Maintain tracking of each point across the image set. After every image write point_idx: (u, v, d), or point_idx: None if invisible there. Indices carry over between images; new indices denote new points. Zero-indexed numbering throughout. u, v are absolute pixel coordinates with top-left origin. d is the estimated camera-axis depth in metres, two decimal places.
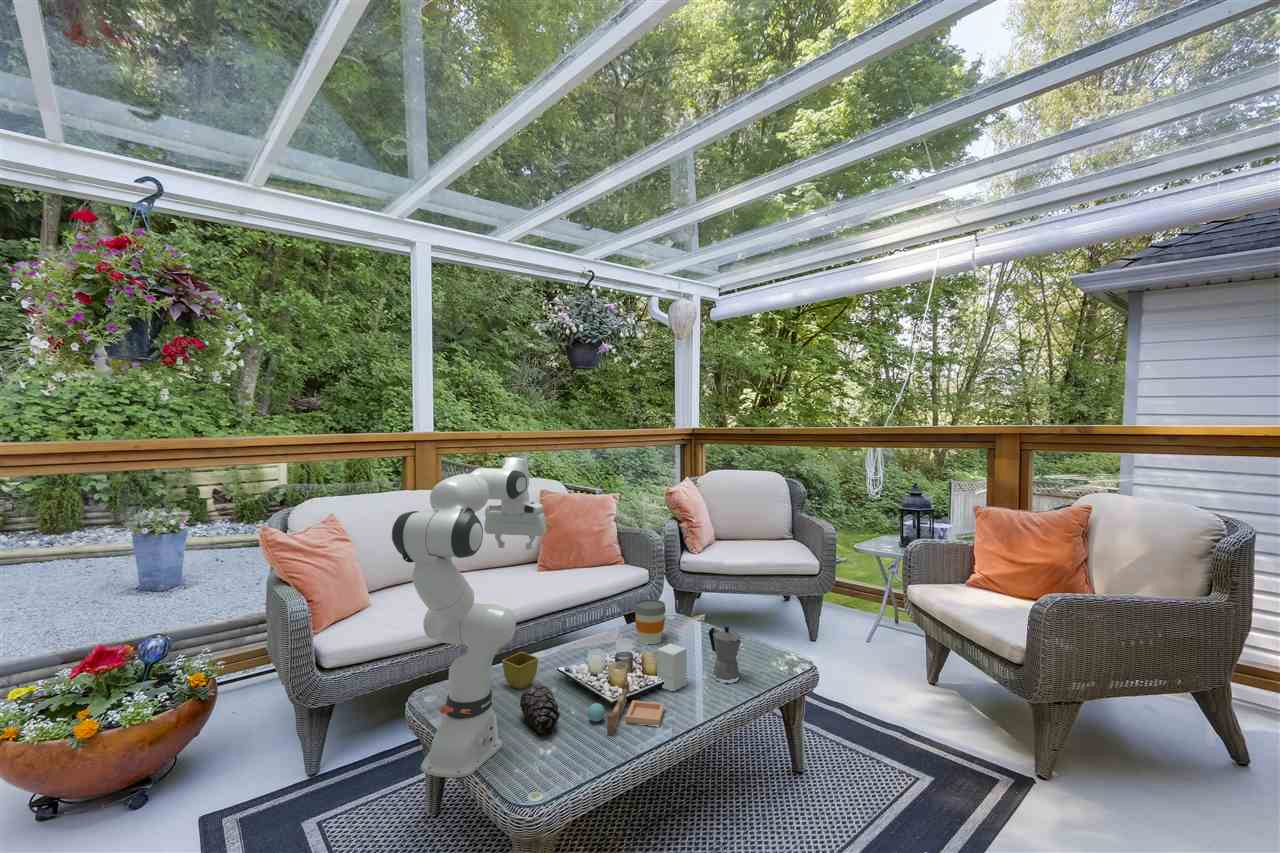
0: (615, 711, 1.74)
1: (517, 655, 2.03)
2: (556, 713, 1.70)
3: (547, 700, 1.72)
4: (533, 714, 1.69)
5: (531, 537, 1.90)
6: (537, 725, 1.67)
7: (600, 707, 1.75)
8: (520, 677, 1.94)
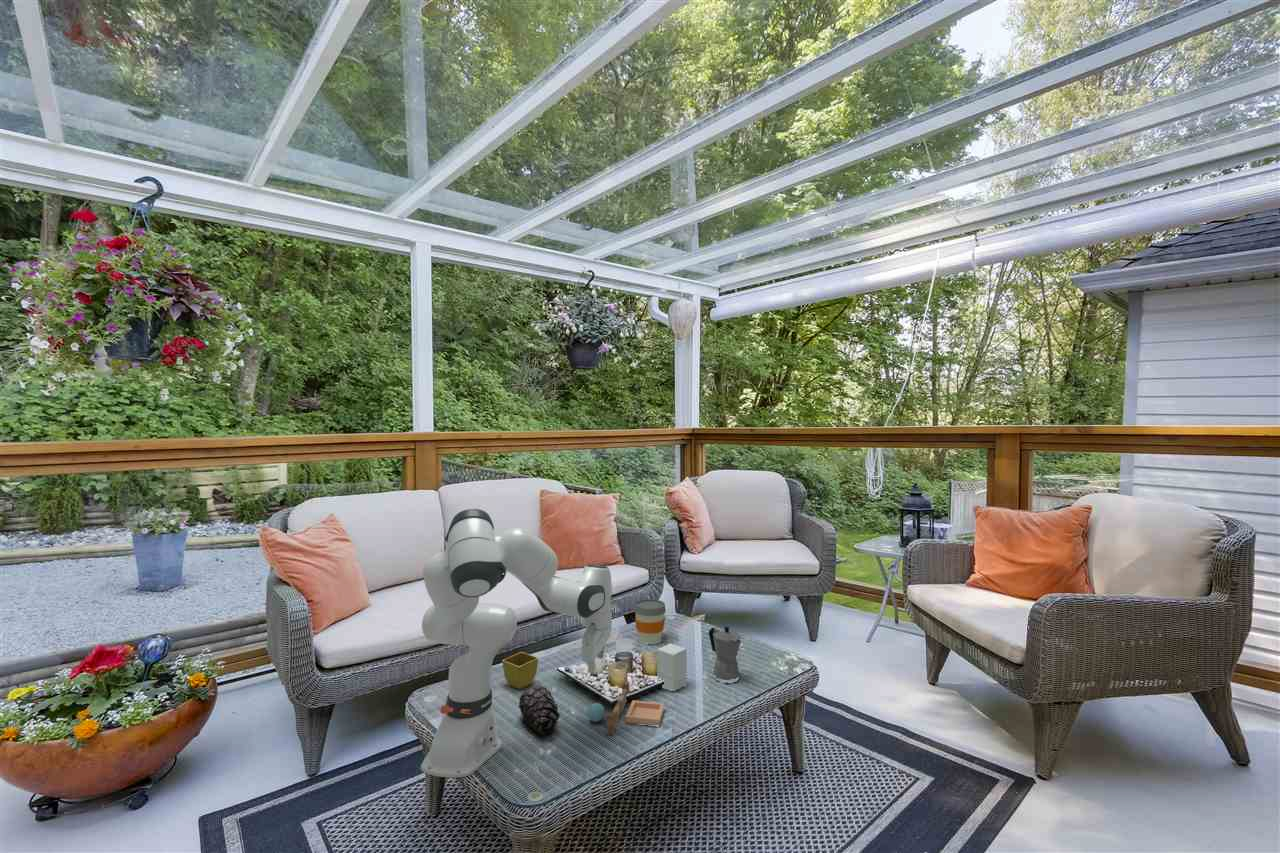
0: (615, 711, 1.74)
1: (517, 655, 2.03)
2: (556, 714, 1.70)
3: (546, 701, 1.72)
4: (532, 715, 1.68)
5: None
6: (537, 726, 1.66)
7: (600, 707, 1.75)
8: (520, 677, 1.94)
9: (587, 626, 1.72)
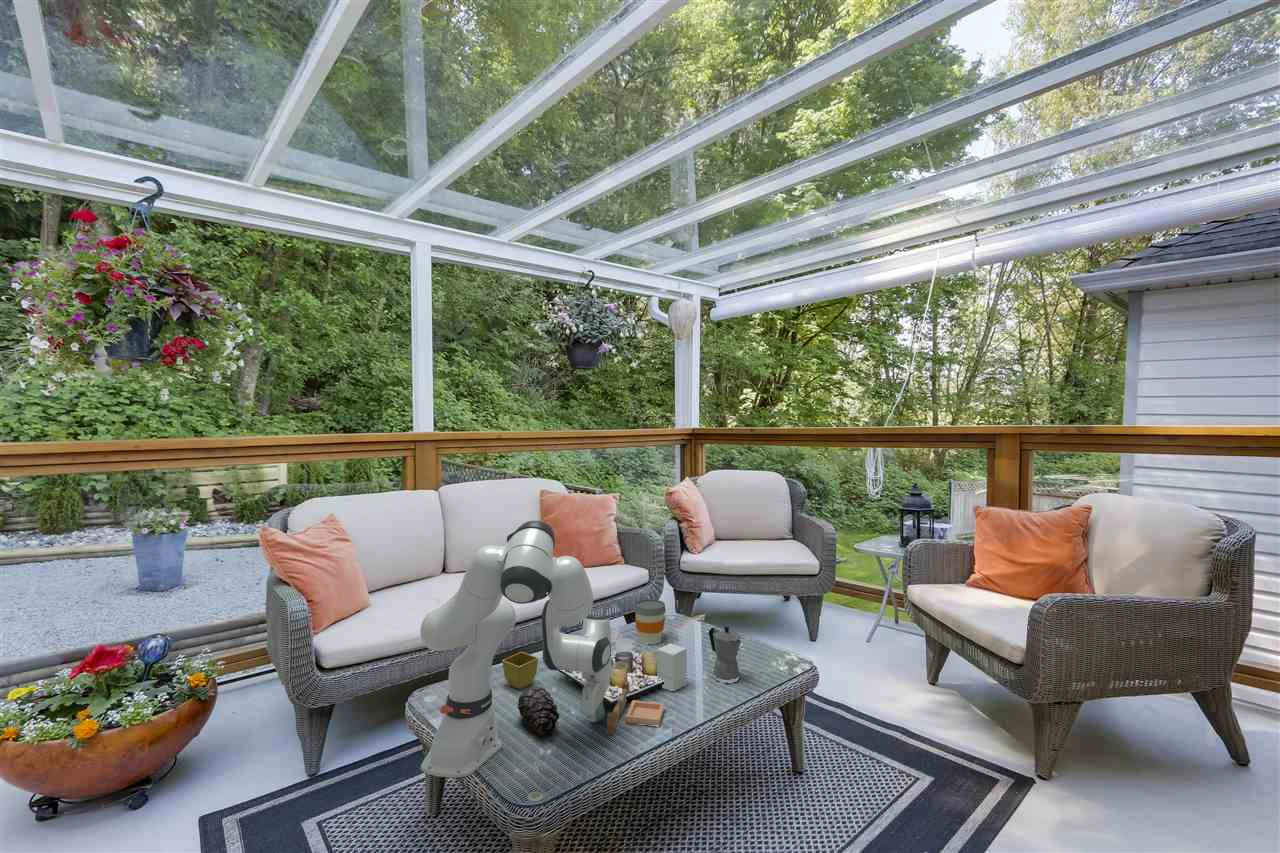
0: (615, 711, 1.74)
1: (517, 655, 2.03)
2: (556, 714, 1.69)
3: (546, 702, 1.71)
4: (532, 716, 1.68)
5: None
6: (537, 727, 1.65)
7: (600, 707, 1.75)
8: (520, 677, 1.94)
9: (587, 678, 1.72)
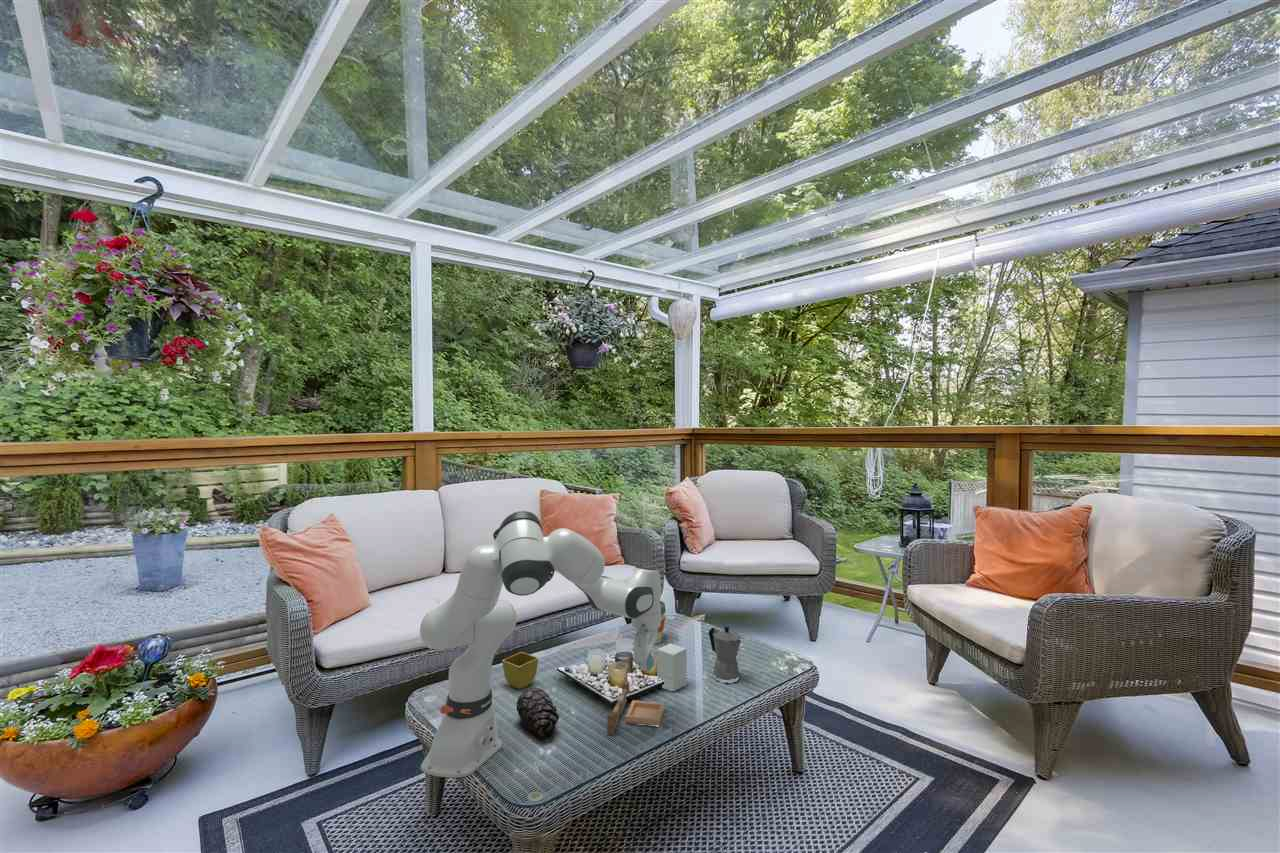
0: (615, 711, 1.74)
1: (517, 655, 2.03)
2: (555, 715, 1.69)
3: (546, 703, 1.71)
4: (532, 718, 1.67)
5: None
6: (537, 729, 1.65)
7: (650, 657, 1.77)
8: (520, 677, 1.94)
9: (638, 627, 1.74)
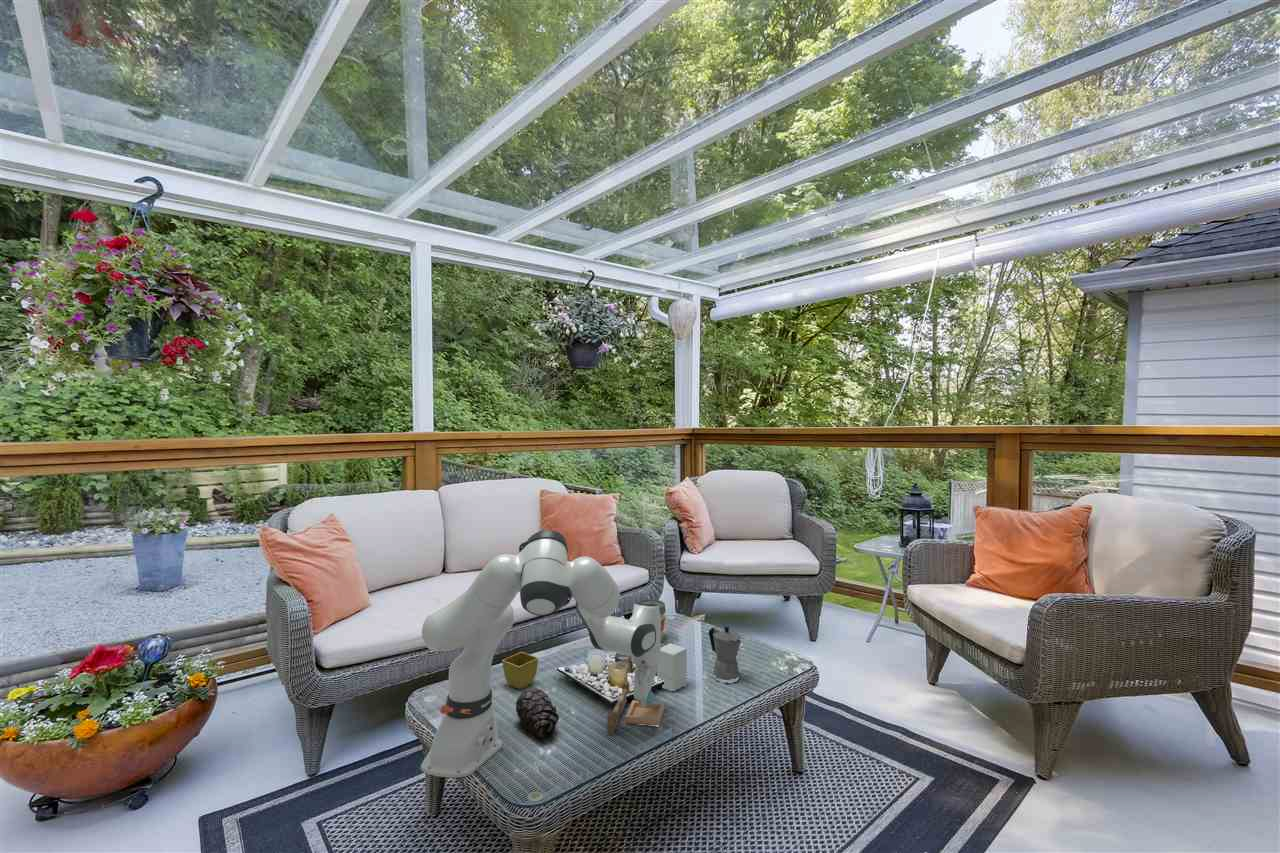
0: (615, 711, 1.74)
1: (517, 655, 2.03)
2: (555, 716, 1.68)
3: (545, 703, 1.70)
4: (532, 718, 1.66)
5: None
6: (538, 729, 1.64)
7: (650, 692, 1.77)
8: (520, 677, 1.94)
9: (637, 664, 1.74)
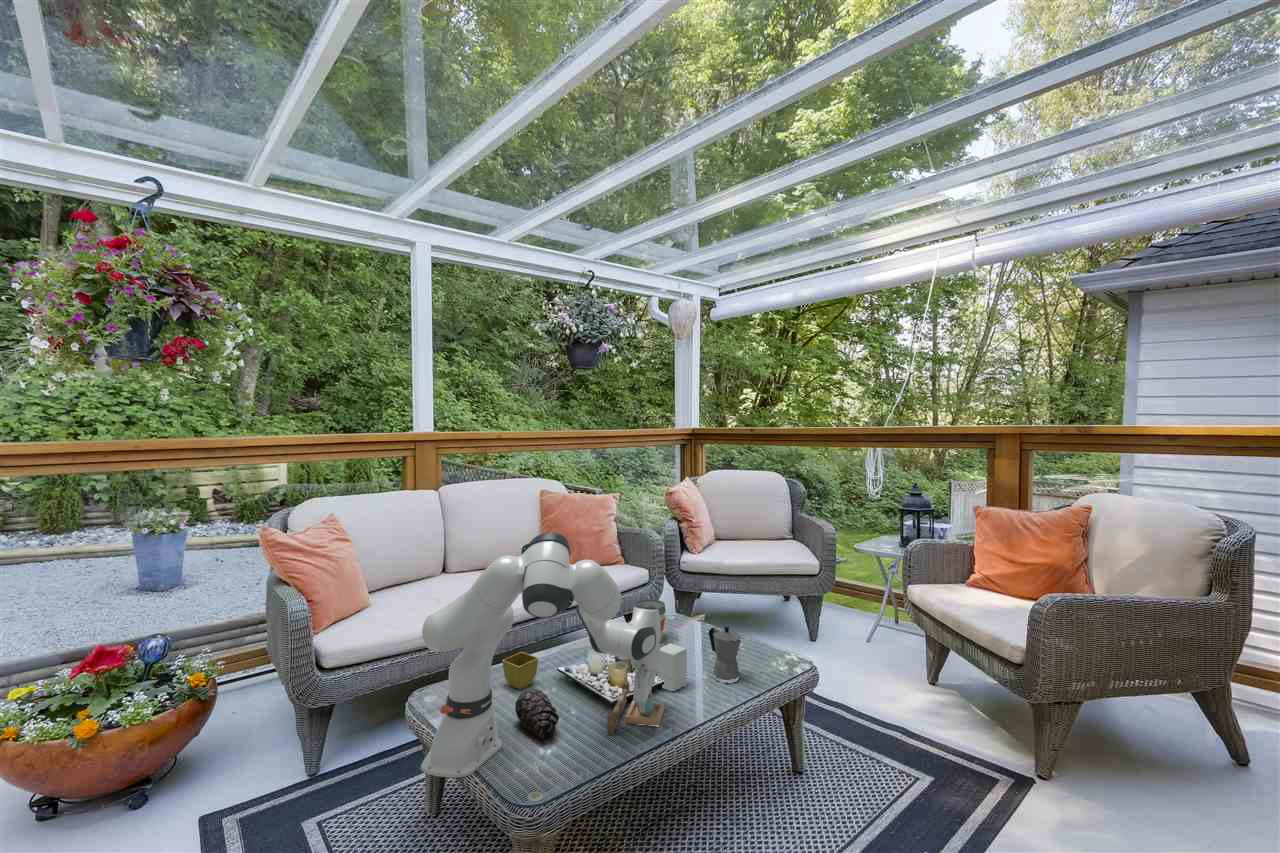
0: (615, 711, 1.74)
1: (517, 655, 2.03)
2: (555, 716, 1.68)
3: (545, 704, 1.70)
4: (532, 719, 1.66)
5: None
6: (538, 730, 1.64)
7: (650, 701, 1.78)
8: (520, 677, 1.94)
9: (637, 667, 1.74)
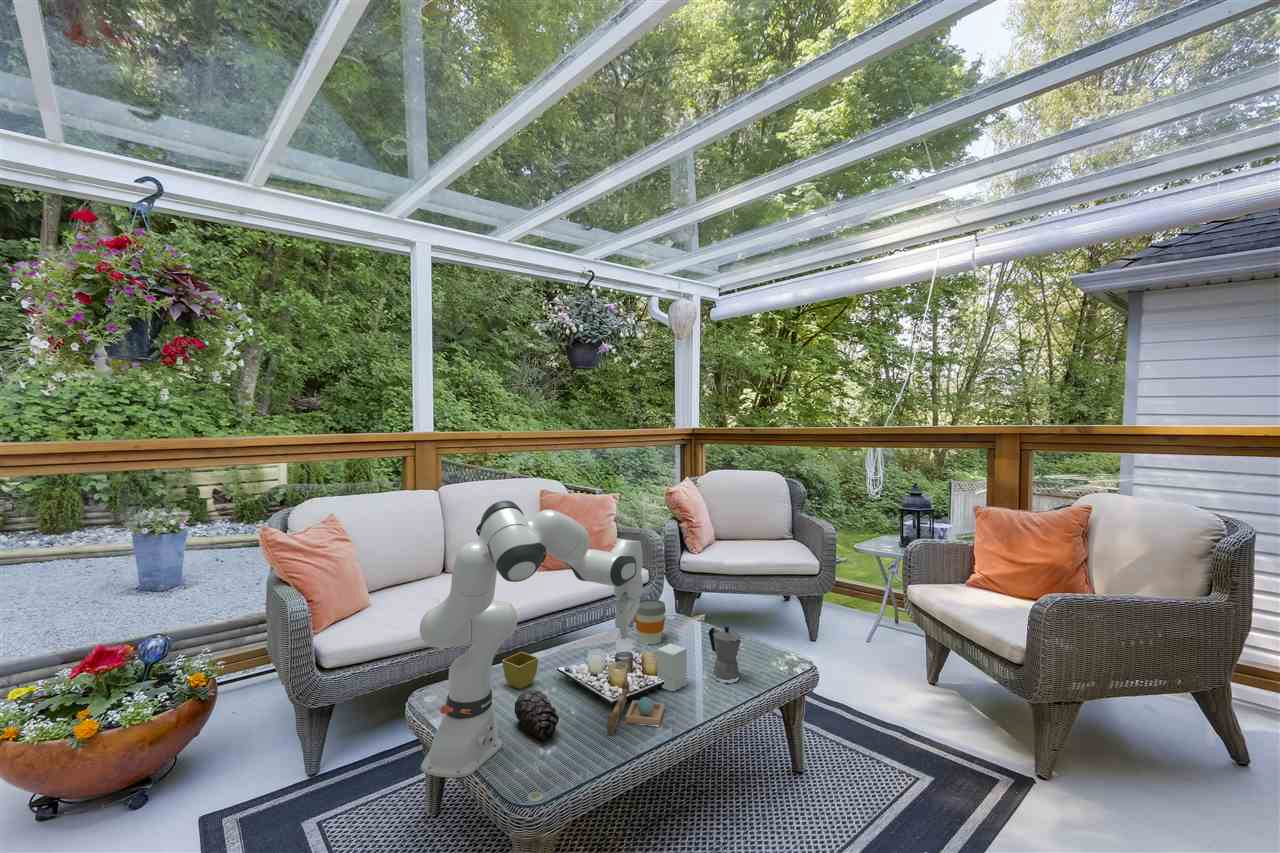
0: (615, 711, 1.74)
1: (517, 655, 2.03)
2: (555, 717, 1.68)
3: (545, 705, 1.70)
4: (532, 720, 1.66)
5: None
6: (538, 731, 1.64)
7: (650, 701, 1.78)
8: (520, 677, 1.94)
9: (619, 595, 1.80)
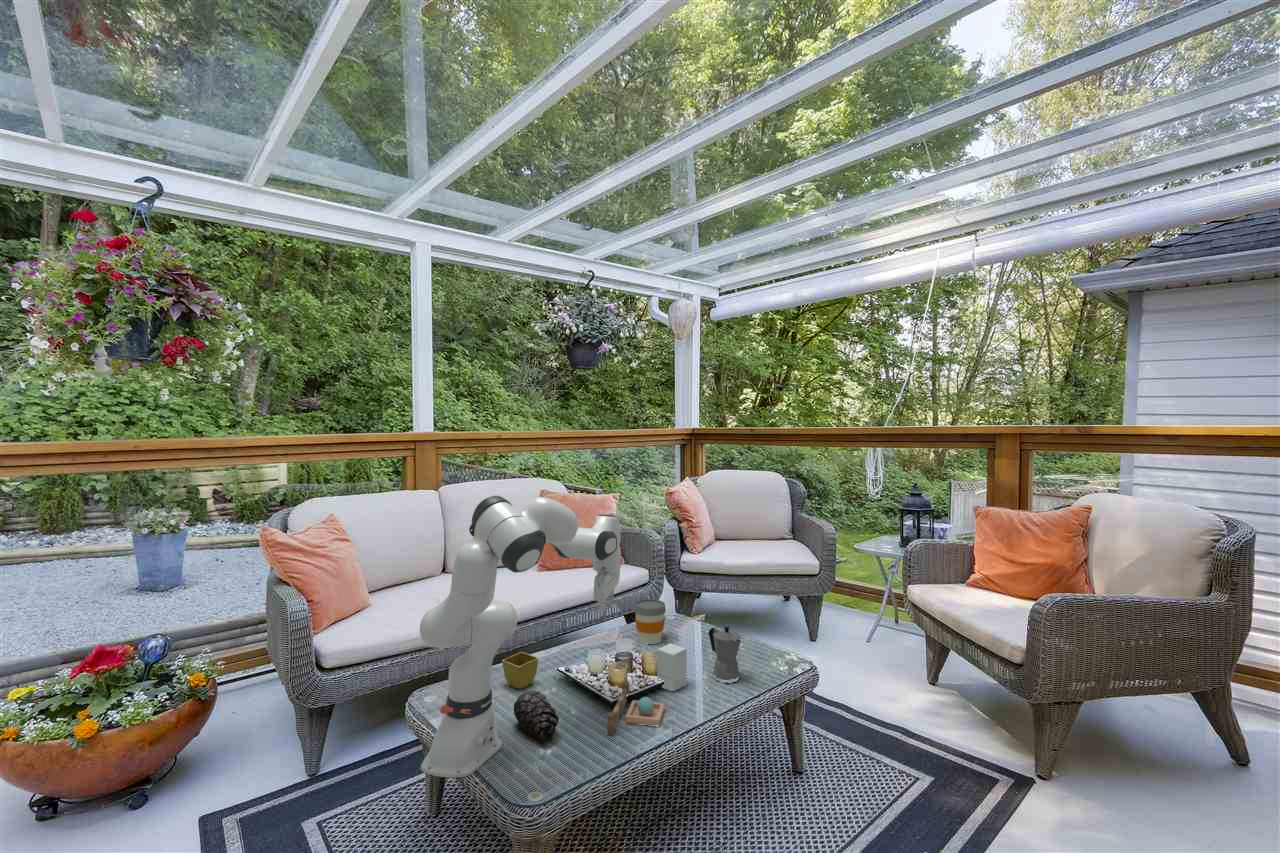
0: (615, 711, 1.74)
1: (517, 655, 2.03)
2: (555, 718, 1.68)
3: (545, 705, 1.69)
4: (532, 721, 1.65)
5: None
6: (538, 732, 1.63)
7: (650, 700, 1.78)
8: (520, 677, 1.94)
9: (598, 570, 1.88)
